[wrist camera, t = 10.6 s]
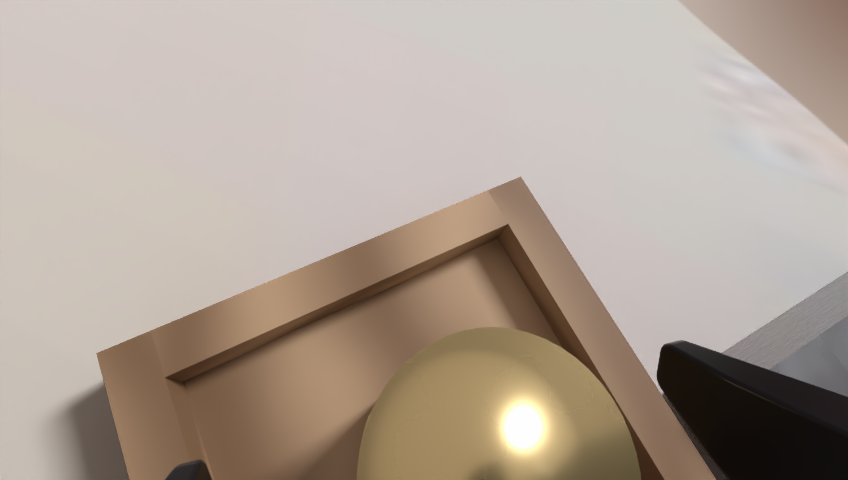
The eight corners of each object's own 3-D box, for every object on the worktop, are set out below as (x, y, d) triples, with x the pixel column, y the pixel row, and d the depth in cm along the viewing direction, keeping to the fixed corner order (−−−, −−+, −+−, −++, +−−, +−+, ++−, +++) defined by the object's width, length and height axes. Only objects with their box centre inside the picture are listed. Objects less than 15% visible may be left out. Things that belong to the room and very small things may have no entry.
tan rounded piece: (441, 535, 14) (576, 738, 5) (338, 465, 15) (292, 538, 6) (497, 420, 16) (678, 418, 7) (402, 359, 16) (449, 279, 7)
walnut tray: (271, 840, 12) (249, 939, 10) (134, 363, 16) (96, 353, 14) (695, 514, 16) (749, 530, 14) (503, 204, 20) (520, 176, 18)
